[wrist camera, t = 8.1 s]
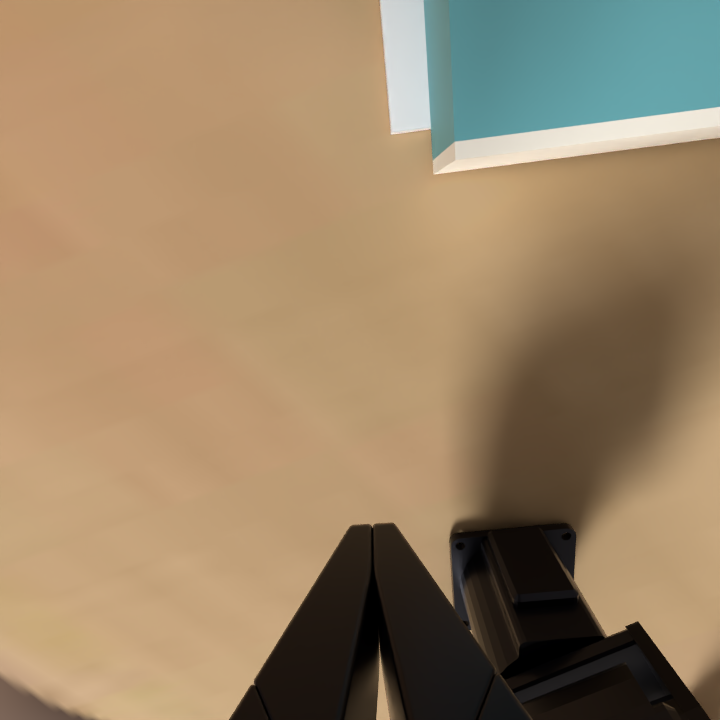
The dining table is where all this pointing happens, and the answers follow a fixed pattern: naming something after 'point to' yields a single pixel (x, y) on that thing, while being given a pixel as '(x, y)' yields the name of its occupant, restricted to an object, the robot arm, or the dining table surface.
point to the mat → (405, 65)
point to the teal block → (568, 78)
